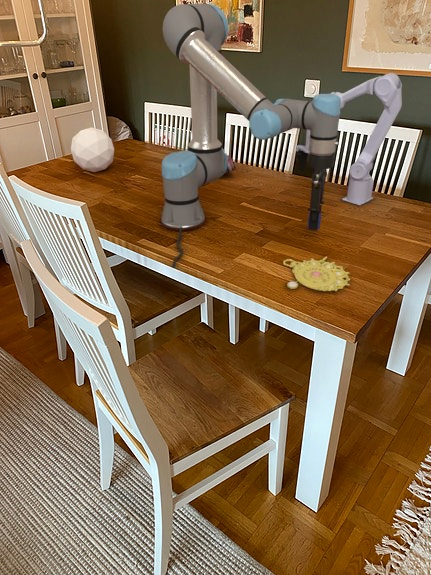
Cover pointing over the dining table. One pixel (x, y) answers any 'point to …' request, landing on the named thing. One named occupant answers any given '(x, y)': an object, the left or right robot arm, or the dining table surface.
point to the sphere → (92, 149)
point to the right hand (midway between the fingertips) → (310, 172)
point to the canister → (318, 220)
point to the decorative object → (318, 275)
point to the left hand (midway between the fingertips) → (314, 226)
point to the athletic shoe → (230, 165)
